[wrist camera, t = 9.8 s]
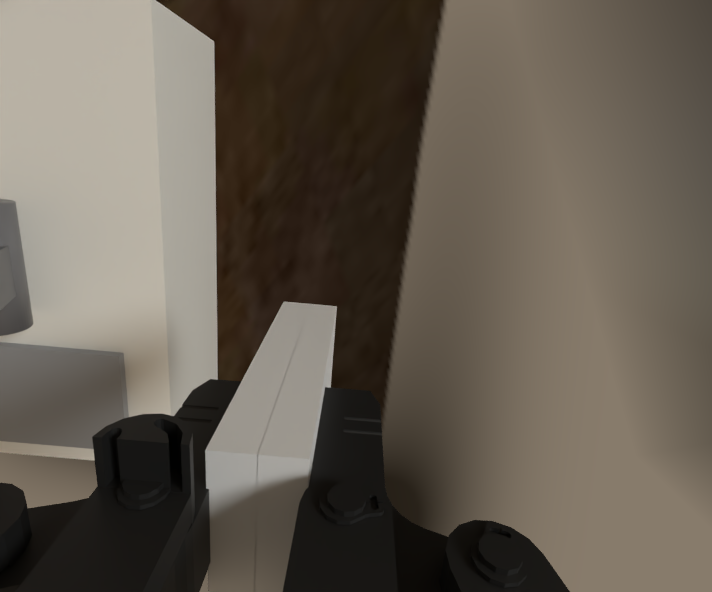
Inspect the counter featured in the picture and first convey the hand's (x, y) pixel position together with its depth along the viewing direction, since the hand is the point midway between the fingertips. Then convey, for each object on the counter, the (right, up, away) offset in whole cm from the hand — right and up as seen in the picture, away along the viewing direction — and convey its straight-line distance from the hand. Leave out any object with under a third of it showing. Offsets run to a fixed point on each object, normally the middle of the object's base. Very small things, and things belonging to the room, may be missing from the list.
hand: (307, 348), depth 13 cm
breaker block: (-13, +5, +13) cm, 19 cm away
